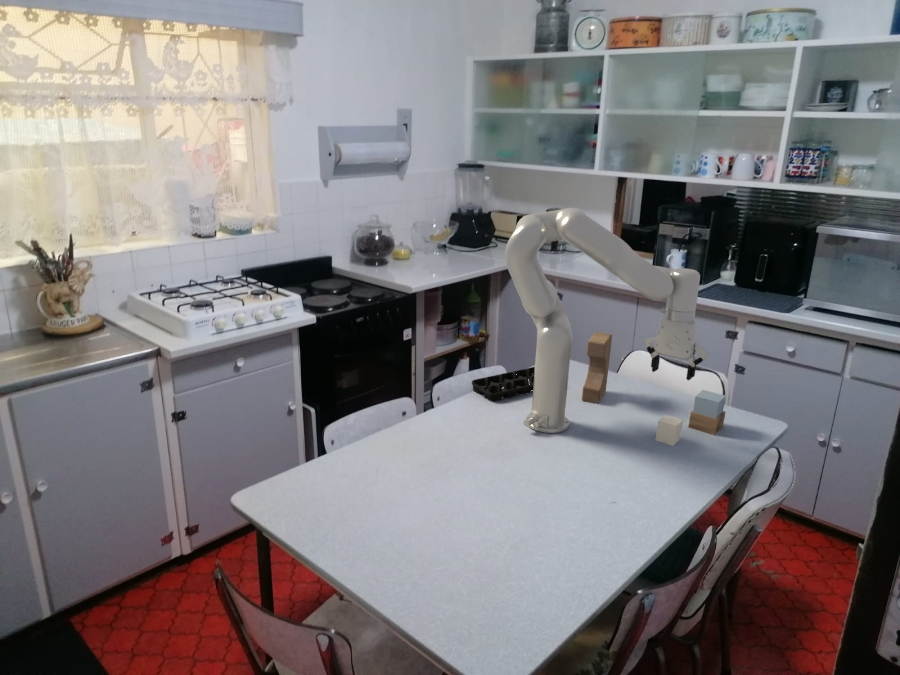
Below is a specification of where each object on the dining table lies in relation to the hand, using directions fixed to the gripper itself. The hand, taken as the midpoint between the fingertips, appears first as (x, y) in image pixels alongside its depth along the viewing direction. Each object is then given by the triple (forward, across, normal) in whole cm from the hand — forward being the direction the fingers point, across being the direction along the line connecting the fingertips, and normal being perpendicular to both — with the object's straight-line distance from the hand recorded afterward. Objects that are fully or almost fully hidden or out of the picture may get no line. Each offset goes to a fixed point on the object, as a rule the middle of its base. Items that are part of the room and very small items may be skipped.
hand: (671, 374), depth 180 cm
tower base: (+18, +8, +12) cm, 23 cm away
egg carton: (+18, -50, -1) cm, 53 cm away
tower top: (+13, +8, +12) cm, 20 cm away
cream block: (+18, +2, -3) cm, 18 cm away
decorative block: (+18, -27, +11) cm, 34 cm away
